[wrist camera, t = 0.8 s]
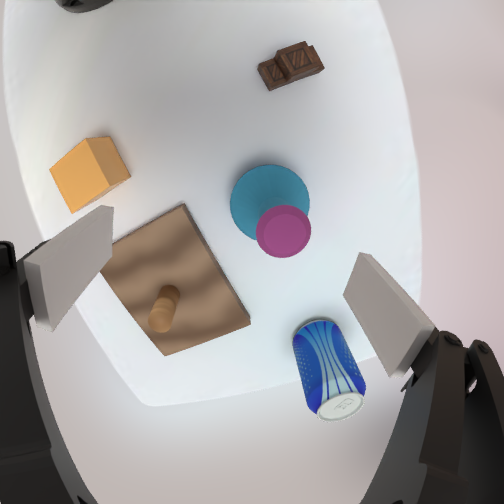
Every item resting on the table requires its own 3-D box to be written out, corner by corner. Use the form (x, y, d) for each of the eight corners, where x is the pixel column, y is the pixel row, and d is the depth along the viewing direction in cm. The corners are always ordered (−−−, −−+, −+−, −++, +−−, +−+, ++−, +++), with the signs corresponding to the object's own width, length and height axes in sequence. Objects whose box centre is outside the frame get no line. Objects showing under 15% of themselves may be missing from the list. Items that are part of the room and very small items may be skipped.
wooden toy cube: (76, 162, 33) (49, 169, 26) (110, 136, 32) (85, 138, 26) (96, 200, 35) (71, 214, 29) (130, 176, 34) (109, 186, 28)
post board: (97, 253, 38) (69, 282, 30) (184, 203, 36) (169, 223, 28) (166, 348, 46) (156, 386, 38) (250, 316, 44) (253, 356, 36)
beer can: (340, 345, 48) (370, 413, 33) (295, 358, 48) (313, 431, 33) (336, 309, 44) (372, 380, 30) (286, 324, 45) (306, 401, 30)
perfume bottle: (225, 166, 35) (218, 186, 21) (297, 157, 35) (336, 172, 21) (236, 234, 38) (236, 291, 25) (303, 225, 38) (339, 276, 25)
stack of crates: (266, 152, 35) (273, 155, 29) (215, 54, 29) (211, 37, 23) (364, 112, 33) (388, 109, 27) (317, 19, 28) (333, 0, 21)
